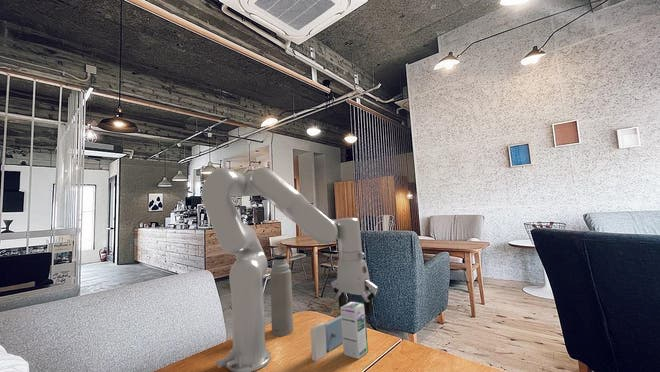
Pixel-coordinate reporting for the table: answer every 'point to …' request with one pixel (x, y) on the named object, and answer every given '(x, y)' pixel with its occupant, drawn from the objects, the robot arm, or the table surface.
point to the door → (333, 333)
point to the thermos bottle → (281, 297)
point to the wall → (318, 341)
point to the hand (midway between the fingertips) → (355, 311)
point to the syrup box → (354, 330)
